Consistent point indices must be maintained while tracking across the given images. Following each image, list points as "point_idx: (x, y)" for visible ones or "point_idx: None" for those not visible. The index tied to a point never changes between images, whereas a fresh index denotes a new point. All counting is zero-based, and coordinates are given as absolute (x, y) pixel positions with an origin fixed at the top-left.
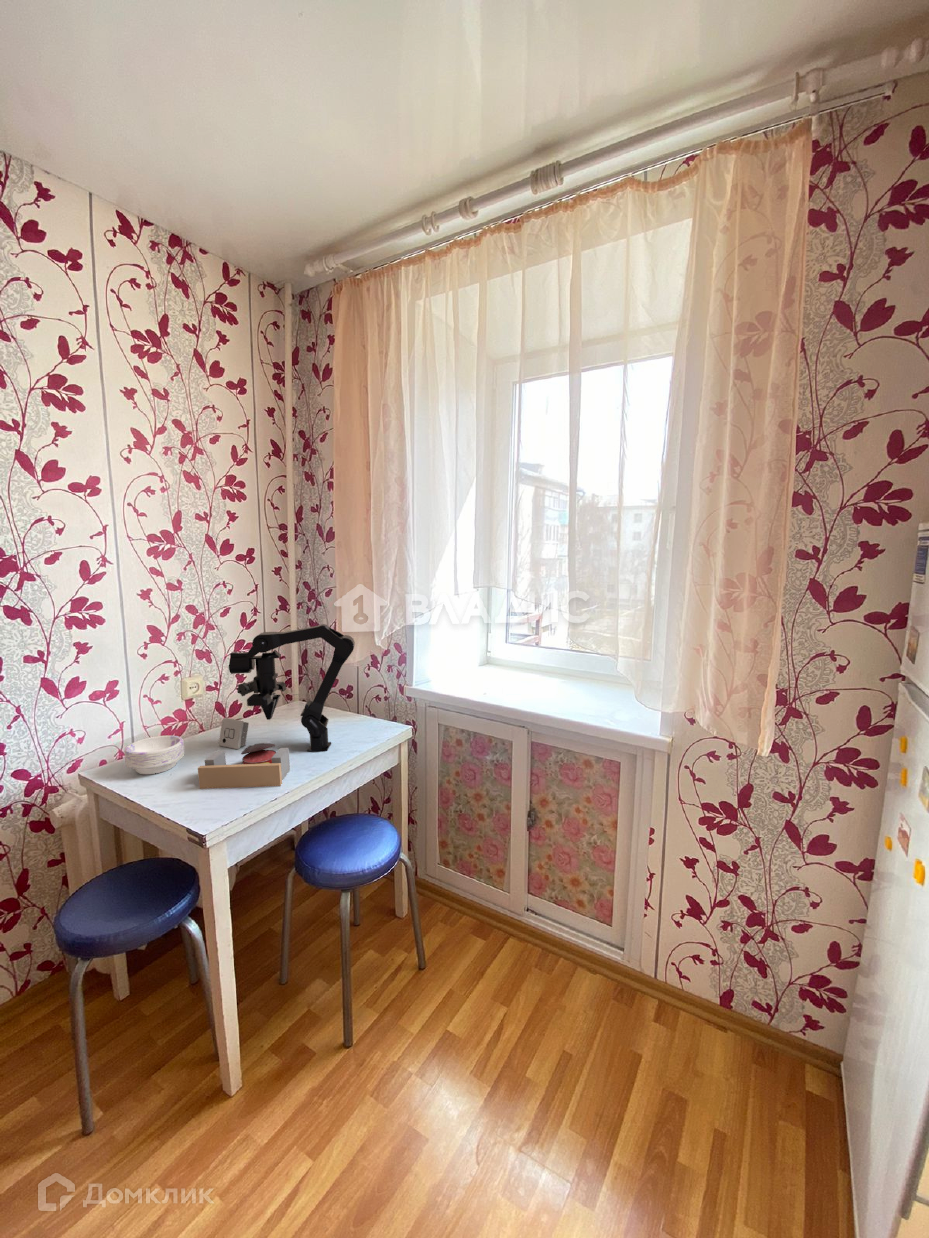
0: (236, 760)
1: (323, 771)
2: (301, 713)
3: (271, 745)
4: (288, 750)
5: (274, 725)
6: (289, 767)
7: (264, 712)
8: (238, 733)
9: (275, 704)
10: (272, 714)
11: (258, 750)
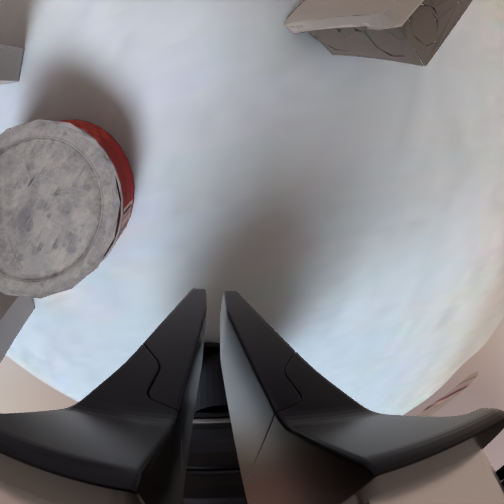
0: (131, 58)
1: (49, 380)
2: (191, 478)
3: (45, 279)
4: (3, 355)
5: (501, 168)
6: (28, 314)
7: (152, 337)
8: (329, 9)
9: (241, 469)
10: (222, 357)
11: (79, 187)
